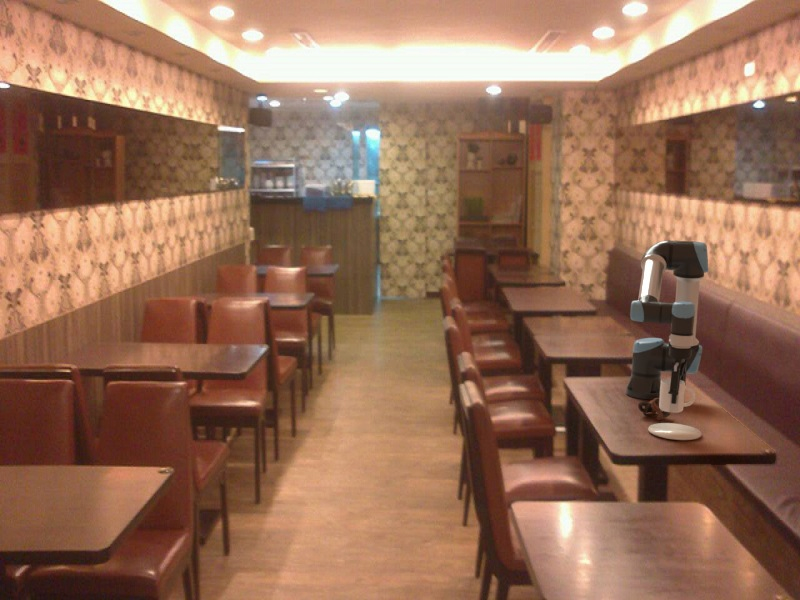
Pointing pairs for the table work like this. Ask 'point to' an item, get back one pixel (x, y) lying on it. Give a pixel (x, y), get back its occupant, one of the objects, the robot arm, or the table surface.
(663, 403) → the mug
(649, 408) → the brown twisted loop piece
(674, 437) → the serving plate
